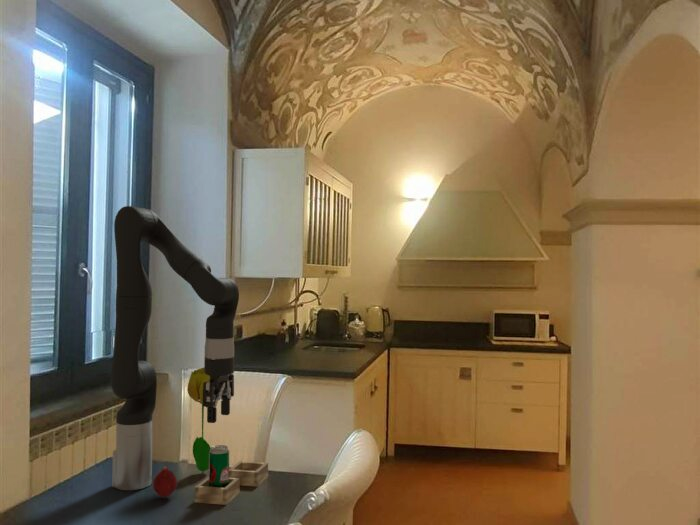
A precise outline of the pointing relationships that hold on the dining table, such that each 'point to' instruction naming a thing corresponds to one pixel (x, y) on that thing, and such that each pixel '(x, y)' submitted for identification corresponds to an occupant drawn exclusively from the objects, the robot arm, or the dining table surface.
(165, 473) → the onion
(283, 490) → the dining table surface
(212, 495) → the oak endcap
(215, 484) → the soda can
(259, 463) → the oak endcap
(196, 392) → the flower
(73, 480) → the dining table surface
